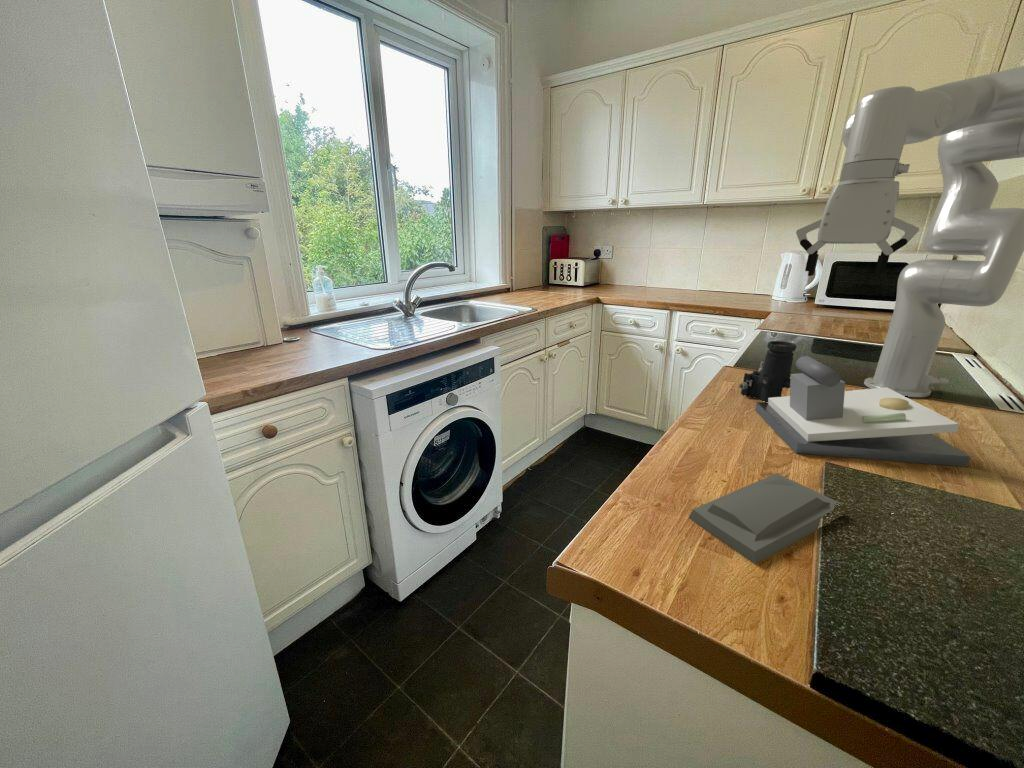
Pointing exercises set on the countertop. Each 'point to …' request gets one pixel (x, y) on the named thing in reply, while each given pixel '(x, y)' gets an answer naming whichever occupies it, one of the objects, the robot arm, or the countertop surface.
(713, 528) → the soap mold
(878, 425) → the leveling plate
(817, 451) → the leveling base
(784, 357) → the scope
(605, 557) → the countertop surface
